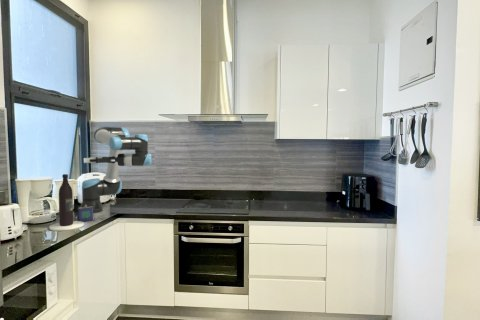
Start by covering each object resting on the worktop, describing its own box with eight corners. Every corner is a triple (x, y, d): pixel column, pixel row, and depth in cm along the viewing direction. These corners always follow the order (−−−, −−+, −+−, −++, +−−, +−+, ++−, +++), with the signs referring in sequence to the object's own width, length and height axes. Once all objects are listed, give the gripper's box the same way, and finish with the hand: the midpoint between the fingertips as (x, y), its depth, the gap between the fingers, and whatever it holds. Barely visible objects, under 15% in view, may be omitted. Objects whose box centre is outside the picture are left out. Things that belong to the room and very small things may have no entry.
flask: (92, 219, 198) (92, 203, 198) (94, 220, 196) (93, 204, 196) (77, 222, 192) (76, 205, 191) (78, 223, 190) (78, 206, 189)
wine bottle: (66, 226, 176) (65, 175, 175) (56, 225, 178) (55, 174, 177) (75, 223, 183) (74, 174, 181) (66, 222, 185) (65, 173, 183)
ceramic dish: (56, 223, 188) (56, 221, 188) (87, 222, 191) (87, 220, 191) (43, 231, 170) (43, 229, 170) (78, 230, 174) (78, 228, 174)
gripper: (121, 167, 174) (81, 167, 169) (128, 164, 198) (92, 164, 194) (121, 154, 173) (80, 154, 169) (128, 152, 198) (92, 152, 193)
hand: (87, 159), depth 181 cm, fingers open, 13 cm apart
